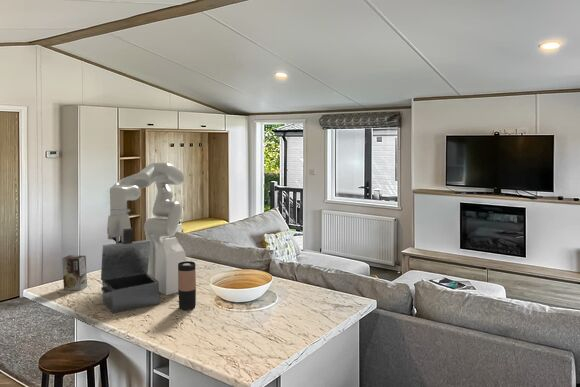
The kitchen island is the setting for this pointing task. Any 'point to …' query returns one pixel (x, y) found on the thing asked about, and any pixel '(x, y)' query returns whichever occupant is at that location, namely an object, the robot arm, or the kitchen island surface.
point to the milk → (168, 265)
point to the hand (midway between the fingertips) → (119, 250)
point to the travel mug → (187, 285)
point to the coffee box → (74, 272)
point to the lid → (125, 257)
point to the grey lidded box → (130, 292)
